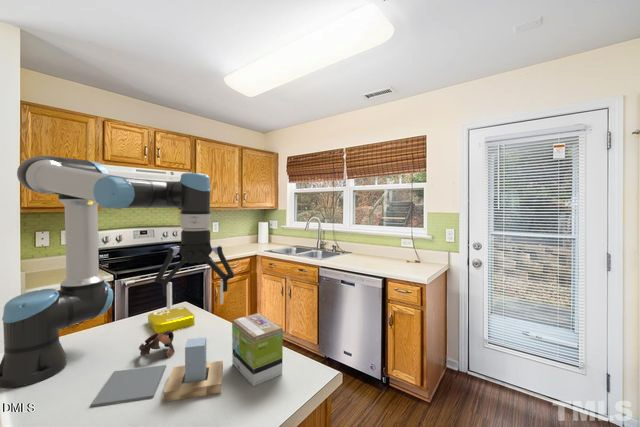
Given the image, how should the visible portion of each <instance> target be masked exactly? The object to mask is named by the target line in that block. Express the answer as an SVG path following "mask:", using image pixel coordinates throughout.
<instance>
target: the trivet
mask: <svg viewBox="0 0 640 427" xmlns="http://www.w3.org/2000/svg"><path fill="white" fill-rule="evenodd" d="M166 368H167V364H161V365H154V366H153V365H152V366H145V367H139V368H138V367H137V368H130V369H123V370H115V371H113V372H112V374H111V375H110V376H109V378H108V379H107V381H106V382H105V384H104V385H103V387H102V388H101V390H100V391H99V392H98V393H97V395H96V397H94V399H93V400H92V402H91V403H90V406H89V407H90V408H92V407H100V406H106V405H115V404H119V403H126V402H127V403H128V402H132V401H133V402H134V401H140V400H146V399H153V398H154V397H155V394H156V391H157V390H158V389H159V388H158V387H159V385H160V382H161V380H162V377H163V375H164V373H165V370H166Z"/></svg>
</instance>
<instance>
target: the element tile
mask: <svg viewBox="0 0 640 427" xmlns="http://www.w3.org/2000/svg"><path fill="white" fill-rule="evenodd" d="M147 326H150V327H149V328H150V330H151V332H153V334H154V333H158V332H160V333H161V335H162V334H163V333H164V332H166V331H168V330H170V331H172V332H174V330H175V331H179V330H182V328H183V329H186V327H187V328H189V327H190V326H191V327H193V326H195V314H193V312H191V311H190V310H189V309H188V308H187V307H186V306H180V307H176V308H170V309H166V310H162V311H156V312H152V313H149V314H148V316H147ZM178 329H179V330H178Z"/></svg>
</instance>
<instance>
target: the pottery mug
mask: <svg viewBox="0 0 640 427" xmlns="http://www.w3.org/2000/svg"><path fill="white" fill-rule="evenodd" d="M173 340H174V331H170V330H168V331H166V332H164V333H163V334H161V333H160V332H158V333H155V334H154V333H153V334H151V335H150V336H149V337H147V338H146V339H145V340H144V343H145V344H144V343H141V344H140V345H139V347H138V350H139V351H140V356H145V355H147V356H150V352H151V350H160V349H161V346H160V343H162V344H163V345H164V347H165V348H169V349H168V350H167V351H166V352H165V354H166V355H167V357H168V359H170V358H171V357H172V356H173V355H174V354H175V349H174V348H175V347H174V345H173Z"/></svg>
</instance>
